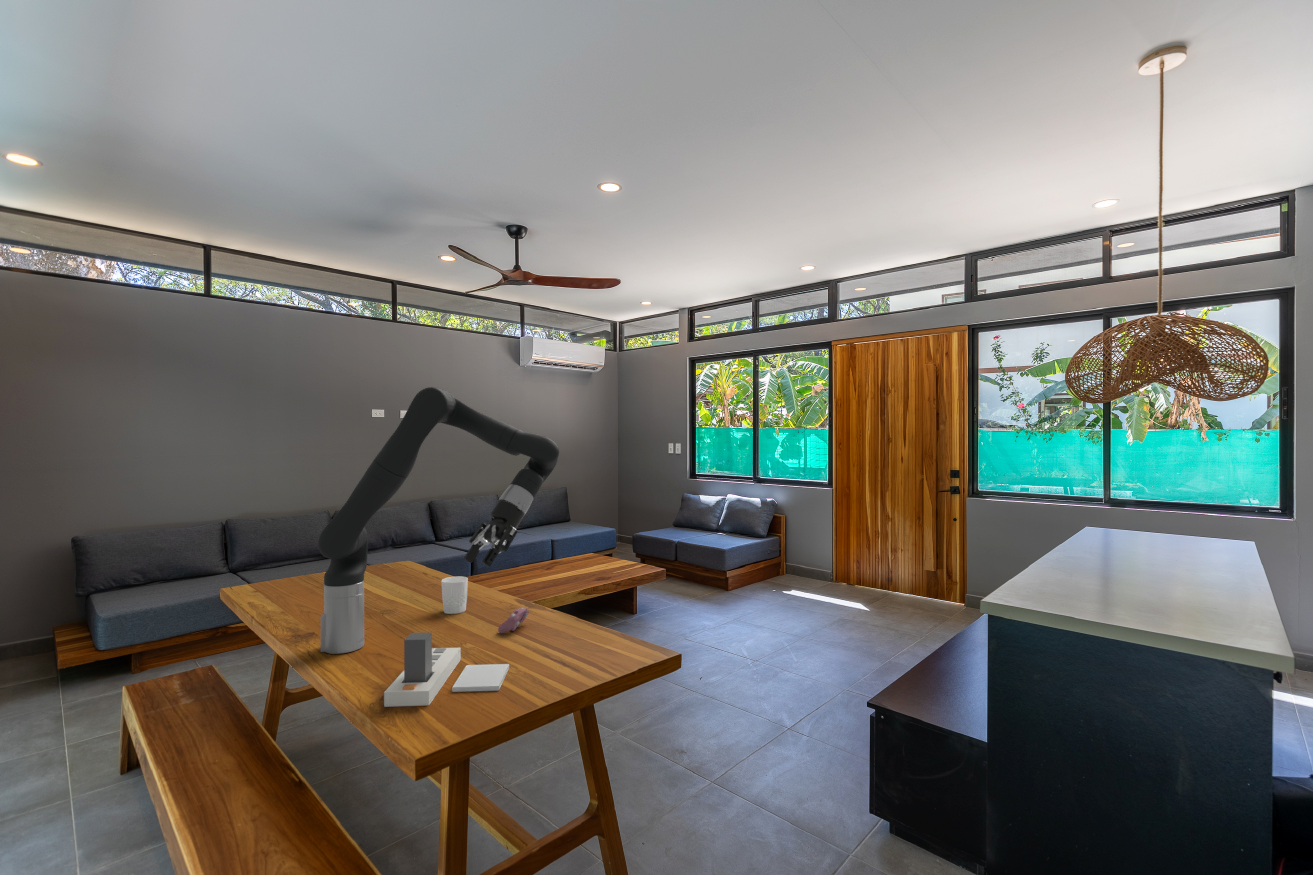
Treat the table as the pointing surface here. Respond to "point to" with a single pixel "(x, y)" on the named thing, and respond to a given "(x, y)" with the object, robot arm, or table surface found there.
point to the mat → (481, 678)
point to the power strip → (423, 691)
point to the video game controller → (514, 620)
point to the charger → (418, 657)
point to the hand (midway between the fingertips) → (476, 562)
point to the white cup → (454, 594)
